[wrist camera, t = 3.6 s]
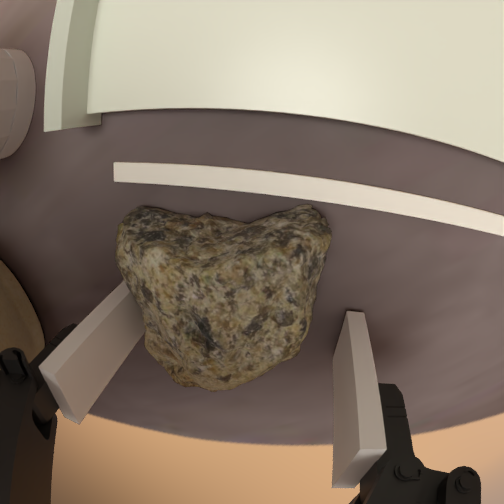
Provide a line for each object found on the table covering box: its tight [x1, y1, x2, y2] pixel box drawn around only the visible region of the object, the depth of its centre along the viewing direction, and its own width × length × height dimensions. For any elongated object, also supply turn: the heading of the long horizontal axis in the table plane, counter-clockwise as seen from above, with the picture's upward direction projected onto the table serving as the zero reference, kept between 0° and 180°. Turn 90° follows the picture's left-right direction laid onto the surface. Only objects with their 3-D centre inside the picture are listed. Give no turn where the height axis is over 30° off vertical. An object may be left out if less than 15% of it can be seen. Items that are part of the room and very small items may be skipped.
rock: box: [115, 204, 332, 392], centre depth 11 cm, size 7×8×4 cm
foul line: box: [114, 162, 504, 236], centre depth 10 cm, size 19×1×1 cm, turn 86°
